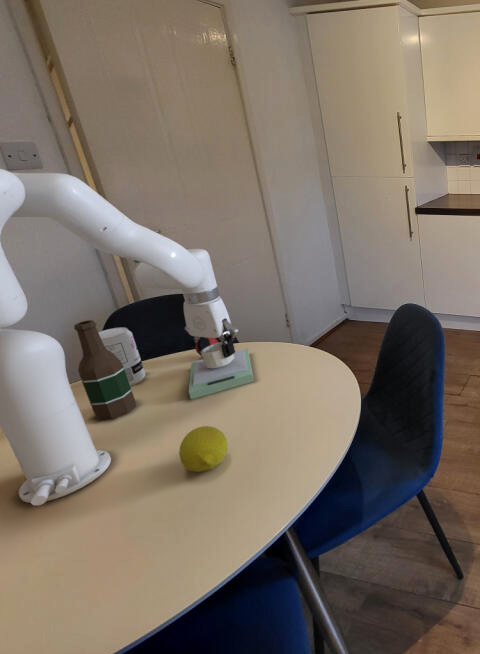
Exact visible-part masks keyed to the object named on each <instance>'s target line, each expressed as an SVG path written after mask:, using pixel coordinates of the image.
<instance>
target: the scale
mask: <svg viewBox="0 0 480 654" xmlns="http://www.w3.org/2000/svg"><path fill="white" fill-rule="evenodd" d="M254 382H255V380H254V375H253V369H252V362H251V357H250V352H249V349H248V348H243V349H239V350H235V353H234V359H233V360H232V361H231V362H230V363H229V364H227V365H225V366H222V367H219V368H207V367H206V366H205V363H204V361H203V358H202V359H197V360H195V361H192V362H191V364H190V373H189V384H188V395H189V398H190V400H193V399H197V398H198V399H199V398H201V397H205V396H209V395H211V394H215V393H219V392H222V391H226V390H229V389H233V388H237V387H239V386H243V385H246V384H250V383H254Z"/></svg>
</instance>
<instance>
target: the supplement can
mask: <svg viewBox="0 0 480 654" xmlns="http://www.w3.org/2000/svg"><path fill="white" fill-rule="evenodd" d="M98 333H99V335H100V338H101V340H102V342H103V344H104V346H105V348H106V349H107V350H108V351H110V352H112V353H113V354H114V355H115V356H116V357H117V358H118V359H119V360H120V361H121V363H122V365H123V367H124V370H125V373H126V376H127V378H128V381H129V384H130V387H132V386H134V385H136V384H138V383H140V382H141V381H143V380H144V378H145V376H146V371H145V367H144V364H143V362H142V359H141V356H140V352H139V350H138V347H137V344H136V341H135V338H134V334H133V332H132V331H130V330H129V329H128V327H120V326H119V327H114V328H108V329H105V330H102V331H98Z"/></svg>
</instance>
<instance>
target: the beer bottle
mask: <svg viewBox="0 0 480 654" xmlns="http://www.w3.org/2000/svg"><path fill="white" fill-rule="evenodd" d="M97 325H98V324H97V323H96V322H95V321H94V320H93V319H92V320H91V319H89V320H84V321H79V322H77V323H75V324H74V325H73V329H74V331H76V332H77V336H78V339H79V343H80V347H81V350H82V357H81V360H80V362H79V363H78V369H77V370H78V371H77V372H78V374H79V378H80V380H81V384H82V386H83V388H84V391H85V393H86V397H87V398H88V401H89V404H90V406H91V409H92V411H93V413H94V415H95V417H96V418H97V420H98V421H109V420H114V419H117V418H120V417H122V416H125V415H127V414H128V413H130V412H131V411H132V410H133V409H134V408H135V407H136V406H137V402H136V399H135V396H134V393H133V390H132V386H130V384H129V381H128V378H127V376H126V373H125V370H124V367H123V365H122V363H121V361H120V360H119V359H118V358H117V357H116V356H115V355H114V354H113V353H112V352H110V351H108V350H107V349H106V348H105V346H104V344H103V342H102V340H101V338H100V335H99V331H98V329H97Z"/></svg>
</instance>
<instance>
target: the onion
mask: <svg viewBox="0 0 480 654" xmlns="http://www.w3.org/2000/svg"><path fill="white" fill-rule="evenodd" d="M206 338H207V337H206ZM208 339H209V342H210V345H213V344H216V343H220V342H219V341H218V340H219V339H217V338H208ZM194 349H195V352H196V353H197V354H198V355H199V356H201V355H200V353H199V349H198V346H197V343H196V342H195V347H194Z"/></svg>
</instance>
